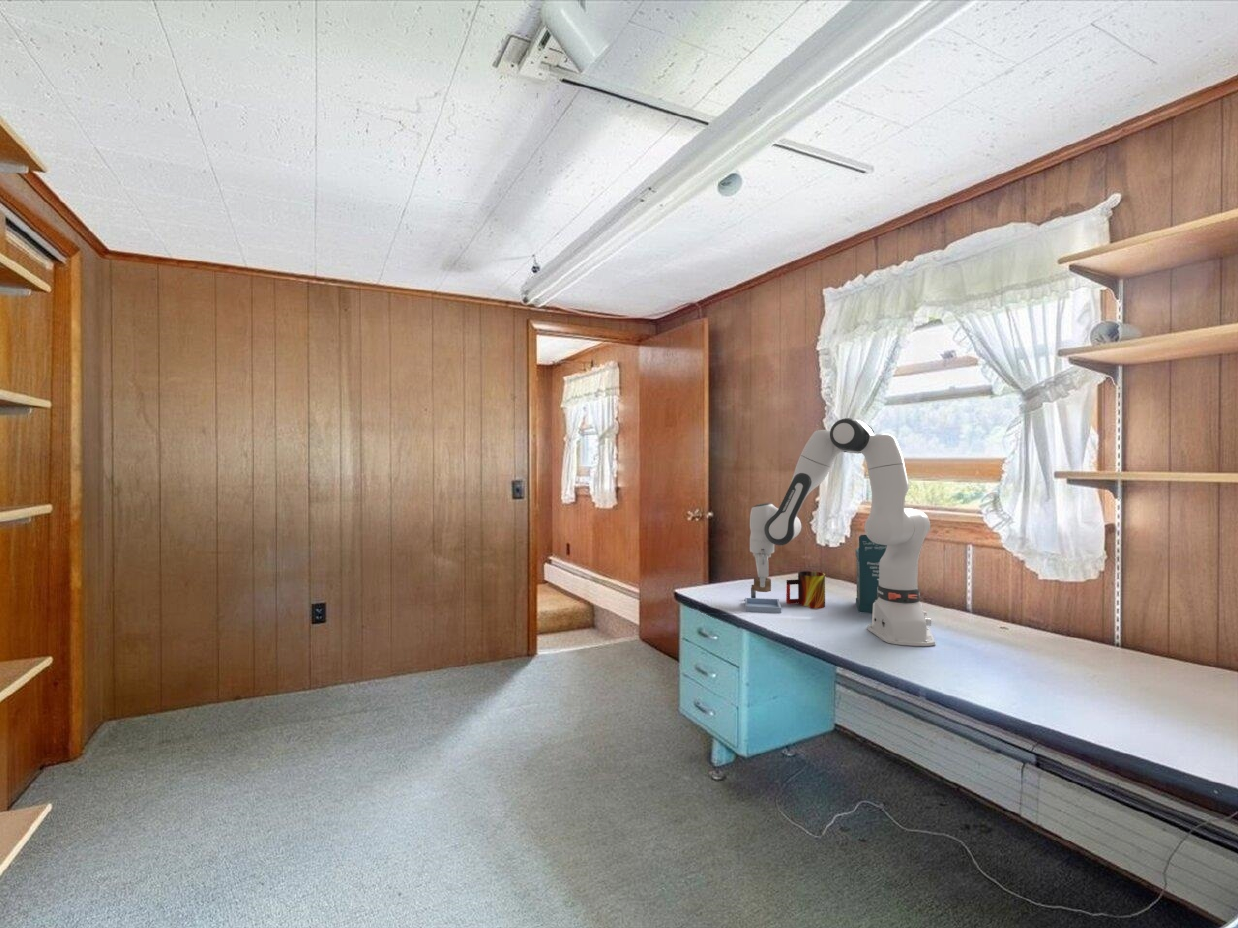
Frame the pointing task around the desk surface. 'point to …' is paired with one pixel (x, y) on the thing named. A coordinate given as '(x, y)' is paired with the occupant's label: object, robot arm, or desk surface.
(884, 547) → the donation box
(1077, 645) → the desk surface
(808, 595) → the mug
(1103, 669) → the desk surface
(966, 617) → the desk surface
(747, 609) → the tray
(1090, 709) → the desk surface
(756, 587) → the ring
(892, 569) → the robot arm
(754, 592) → the grey peg stand
